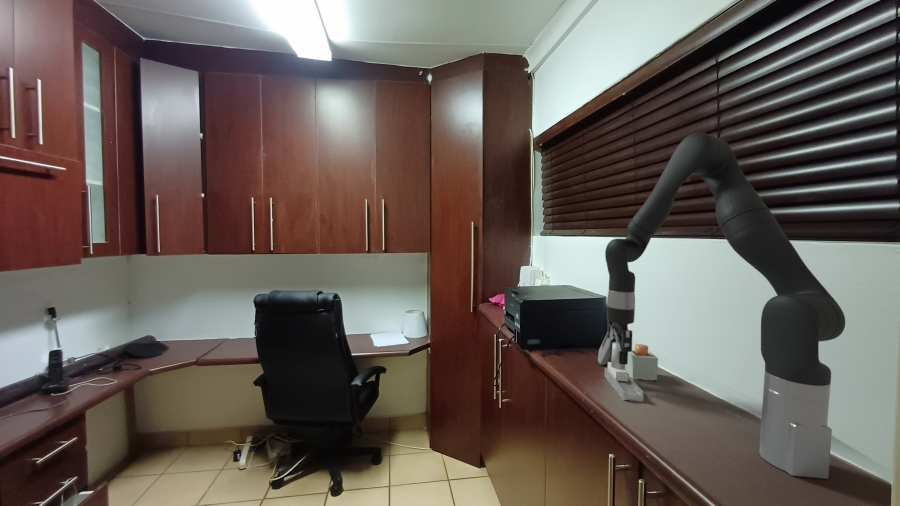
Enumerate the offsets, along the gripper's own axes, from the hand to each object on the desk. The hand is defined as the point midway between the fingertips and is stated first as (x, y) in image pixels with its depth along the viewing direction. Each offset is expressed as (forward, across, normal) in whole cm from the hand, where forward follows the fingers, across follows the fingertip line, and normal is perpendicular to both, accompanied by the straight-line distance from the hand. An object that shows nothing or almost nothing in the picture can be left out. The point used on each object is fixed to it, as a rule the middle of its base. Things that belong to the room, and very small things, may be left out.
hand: (618, 359), depth 109 cm
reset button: (0, +6, -9) cm, 11 cm away
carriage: (+5, 0, 0) cm, 5 cm away
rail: (+7, -5, 0) cm, 8 cm away
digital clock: (+7, +20, -3) cm, 22 cm away
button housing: (+7, +6, -9) cm, 13 cm away
